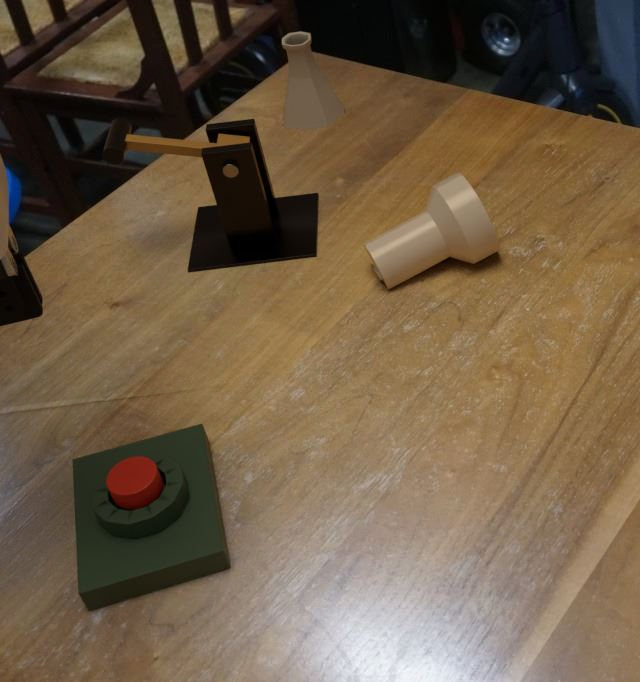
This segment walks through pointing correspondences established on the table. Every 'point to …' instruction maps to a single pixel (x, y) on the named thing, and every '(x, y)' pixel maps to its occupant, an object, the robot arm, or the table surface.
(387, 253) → the spotlight
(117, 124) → the hammer
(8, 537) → the table surface
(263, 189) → the bracket
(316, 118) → the flask
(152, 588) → the control box
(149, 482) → the button
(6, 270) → the robot arm
